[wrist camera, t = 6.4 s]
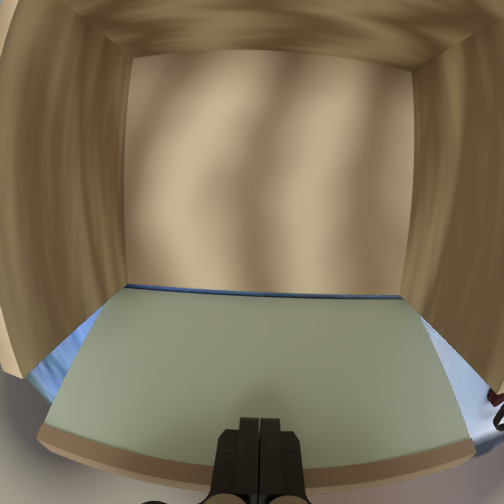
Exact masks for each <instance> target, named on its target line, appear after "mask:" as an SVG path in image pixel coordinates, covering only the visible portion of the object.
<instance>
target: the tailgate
mask: <svg viewBox="0 0 504 504" xmlns="http://www.w3.org/2000/svg"><path fill="white" fill-rule="evenodd" d="M240 417H251V418H259V430H260V419H261V418H280V429H281V431H293V432H294V433H295V435H296V436H297V438H298V439H299V440H300V448H301V457H302V465H303V474H304V484H305V493H306V495H317V494H329V493H339V492H347V491H354V490H361V489H368V488H373V487H379V486H384V485H389V484H394V483H398V482H403V481H407V480H411V479H415V478H419V477H422V476H426V475H430V474H433V473H437V472H440V471H443V470H446V469H449V468H452V467H455V466H458V465H461V464H462V463H464V462H465V461H466V460H468V459H469V458H470V457H472V456H473V455H474V454H475V453H476V450H475V447H474V444H473V441H472V438H470V436H469V433H468V430H467V427H466V424H465V421H464V419H463V416H462V413H461V410H460V408H459V405H458V402H457V400H456V397H455V395H454V392H453V390H452V387H451V385H450V382H449V380H448V378H447V375H446V373H445V370H444V368H443V366H442V364H441V361H440V359H439V357H438V355H437V352H436V350H435V348H434V346H433V344H432V341H431V339H430V337H429V335H428V333H427V331H426V329H425V327H424V325H423V323H422V321H421V319H420V317H419V315H418V313H417V312H416V311H415V310H414V309H413V308H412V307H411V306H410V305H409V304H408V303H407V302H406V301H405V300H404V299H307V298H275V297H251V296H231V295H213V294H197V293H182V292H168V291H155V290H143V289H131V288H122V289H121V290H120V291H119V292H118V293H116V294H115V295H114V296H113V297H112V298H111V299H109V300H108V301H107V302H106V303H105V305H104V306H103V308H102V310H101V311H100V313H99V315H98V317H97V318H96V320H95V322H94V324H93V325H92V327H91V329H90V331H89V333H88V334H87V336H86V338H85V340H84V342H83V344H82V345H81V347H80V349H79V351H78V353H77V355H76V357H75V359H74V361H73V363H72V365H71V367H70V369H69V371H68V373H67V375H66V377H65V379H64V381H63V383H62V385H61V387H60V389H59V391H58V393H57V395H56V397H55V399H54V402H53V404H52V406H51V408H50V410H49V413H48V415H47V417H46V419H45V422H44V424H42V425H41V428H40V430H39V432H38V435H37V437H36V439H37V440H38V441H39V442H41V443H42V444H43V445H44V446H45V447H46V448H47V449H48V450H50V451H52V452H54V453H56V454H59V455H61V456H64V457H66V458H69V459H72V460H74V461H77V462H80V463H83V464H86V465H88V466H91V467H95V468H97V469H101V470H104V471H107V472H110V473H114V474H118V475H121V476H125V477H128V478H132V479H136V480H140V481H145V482H149V483H154V484H159V485H164V486H169V487H175V488H181V489H187V490H195V491H202V492H210V487H211V481H212V475H213V468H214V462H215V456H216V451H217V443H218V438H219V437H220V435H221V434H222V433H223V431H224V430H225V429H235V430H239V423H240Z"/></svg>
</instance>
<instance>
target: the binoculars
mask: <svg viewBox="0 0 504 504" xmlns="http://www.w3.org/2000/svg"><path fill="white" fill-rule="evenodd" d="M488 400H489V401H490V402H491V404H492V405H493V406H494V407H496V406H498V405H499V404H501V403H502V402H503V401H504V393H501V394H498V395H497V394H496V393H495V392H494V391H493V390H492V392H491V393H490V395H489V397H488ZM503 417H504V404H503V405H502V406H501V409H500V410H499V411H498V412H497V414H496V416H495V417H494V419H493V424H494V426H495V428H496V429H497V430H499V431H504V423H503V424H500V425H498V424H499V423H500V421H501V419H502V418H503Z"/></svg>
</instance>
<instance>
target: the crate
mask: <svg viewBox="0 0 504 504" xmlns="http://www.w3.org/2000/svg"><path fill="white" fill-rule="evenodd" d="M127 284H139V285H151V286H165V287H179V288H194V289H211V290H229V291H249V292H273V293H302V294H347V295H399V296H401V297H402V298H403V299H404V300H405V301H406V302H407V303H408V304H409V305H410V306H411V307H412V308H413V309H414V310H415V311H416V312H417V313H418V314H420V315H421V316H422V317H423V318H424V319H425V320H426V321H427V322H428V323H429V324H430V325H431V326H432V327H433V328H434V329H435V330H436V331H437V332H438V333H439V334H440V335H441V336H442V337H443V338H444V339H445V340H446V341H447V342H448V343H449V344H450V345H451V346H452V347H453V348H454V349H455V350H456V351H457V352H458V353H459V354H460V355H461V356H462V357H463V359H464V360H465V361H466V362H467V363H468V364H469V365H470V366H471V367H472V368H473V369H474V370H475V371H476V372H477V373H478V374H479V376H480V377H481V378H482V379H483V380H484V381H485V382H486V383H487V384H488V385H489V386H490V388H491V389H492V390H493V391H494V392H495V393H496V394H497V395H498V394H501V393H504V0H2V2H1V5H0V363H1V365H2V368H3V371H5V372H7V373H9V374H12V375H15V376H17V377H19V378H22V379H23V378H24V377H26V376H27V375H28V374H29V373H30V372H31V371H32V370H33V369H34V368H35V367H36V366H37V365H38V364H39V363H40V362H41V361H42V360H43V359H44V358H45V357H46V356H47V355H48V354H49V353H51V352H52V351H53V350H54V349H55V348H56V347H57V346H58V345H59V344H60V343H61V342H62V341H63V340H65V339H66V338H67V337H68V336H69V335H70V334H71V333H72V332H73V331H74V330H76V329H77V328H78V327H79V326H80V325H81V324H82V323H83V322H84V321H86V320H87V319H88V318H89V317H90V316H91V315H92V314H93V313H95V312H96V311H97V310H98V309H99V308H100V307H101V306H103V305H104V304H105V303H106V302H107V301H108V300H109V299H111V298H112V297H113V296H114V295H115V294H116V293H118V292H119V291H120V290H121V289H122V288H123V287H125V286H126V285H127Z"/></svg>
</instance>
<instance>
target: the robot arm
mask: <svg viewBox="0 0 504 504" xmlns="http://www.w3.org/2000/svg"><path fill="white" fill-rule="evenodd" d="M143 504H166V503H163V502H160V501H149V502H145V503H143ZM199 504H311V503H310V502H309V500H308V499H307V496H306V493H305V484H304V474H303V465H302V457H301V448H300V440H299V439H298V438H297V436H296V435H295V433H294V432H293V431H281V429H280V418H261V419H260V430H259V418H251V417H240V423H239V430H235V429H225V430H224V431H223V433H222V434H221V435H220V437H219V438H218V443H217V451H216V456H215V462H214V468H213V475H212V481H211V487H210V492H209V494H208V496H207V498H206V499H205V500H204V501H202V502H201V503H199Z"/></svg>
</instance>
